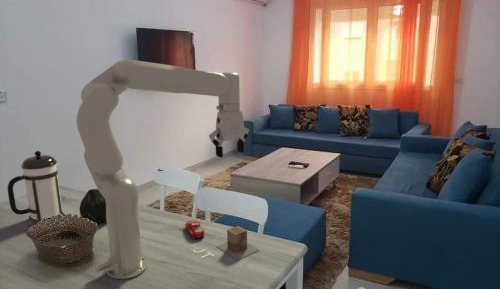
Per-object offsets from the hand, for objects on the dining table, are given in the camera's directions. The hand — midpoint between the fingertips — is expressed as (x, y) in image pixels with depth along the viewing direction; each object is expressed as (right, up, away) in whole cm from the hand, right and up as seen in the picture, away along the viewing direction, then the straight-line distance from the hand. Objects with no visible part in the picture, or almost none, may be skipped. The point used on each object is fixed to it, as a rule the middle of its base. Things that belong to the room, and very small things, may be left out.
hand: (230, 154), depth 134 cm
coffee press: (-81, -29, +23) cm, 89 cm away
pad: (+3, -34, -3) cm, 34 cm away
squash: (-57, -29, +22) cm, 67 cm away
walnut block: (+3, -34, -3) cm, 34 cm away
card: (-14, -31, +10) cm, 35 cm away
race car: (-14, -31, +10) cm, 36 cm away
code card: (-9, -35, -5) cm, 36 cm away
